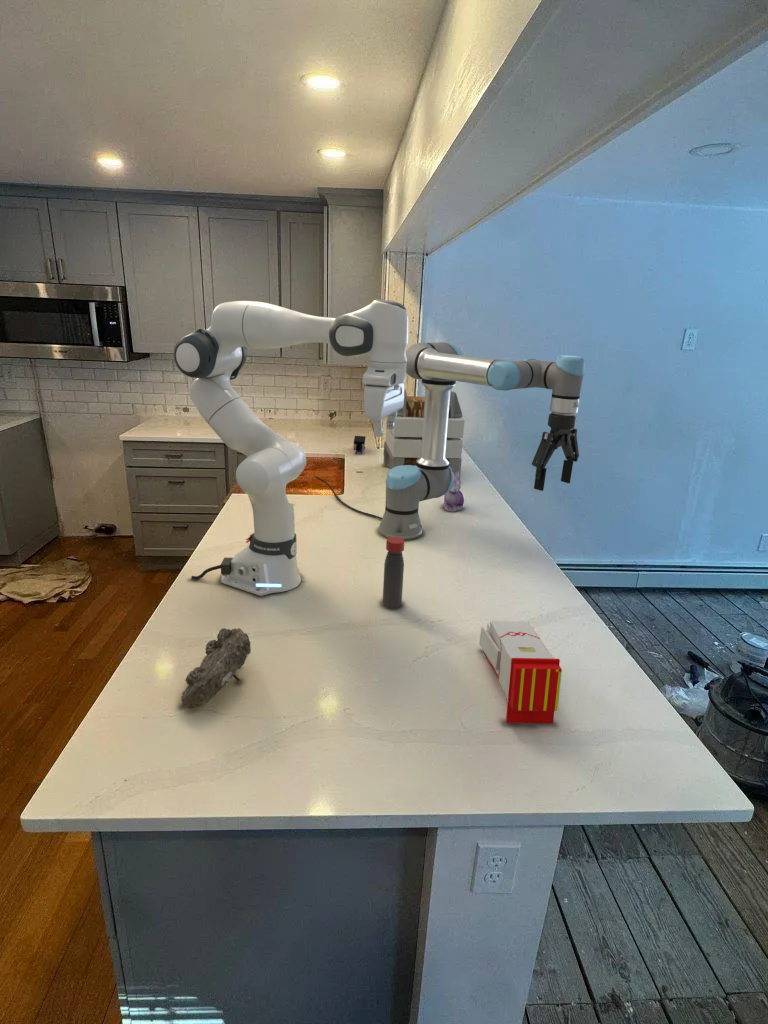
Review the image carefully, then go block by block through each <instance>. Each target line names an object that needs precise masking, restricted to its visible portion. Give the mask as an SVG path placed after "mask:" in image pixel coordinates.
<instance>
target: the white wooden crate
mask: <svg viewBox="0 0 768 1024" xmlns="http://www.w3.org/2000/svg"><path fill="white" fill-rule="evenodd" d="M407 394H408V393H407V390H406V389H404V405H403V408H401V409H400V410H398V411H397V417H396V420H395V428H394V429H392V430H390V429H387V428H386V427H385V438H384V442H383V466H384V467H388V468H389V470H390V469H392V468H394V467H396V466H401V465H404V466H405V465H413V466H416V461H417V459H418V458H420V457H421V449H422V434H423V419H424V404H425V396H415V395H414V396H413V395H412V396H411V395H407ZM387 420H388V416H386V417H385V423H386V422H387ZM464 429H465V419H464V418H463V411H462V408H461V405H460V402H459V398H458V395H457V392H455V391H453V390H451V392H450V404H449V416H448V428H447V441H446V453H445V458H446V459H447V461H448V462H449V466H450V467H451V469H452V473H454V475H455V473H456V472H457V471H458V472H459V477H458V481H459V483H461V472H462V461H463V460H462V453H463V442H464V441H463V440H462V439H463V438H464V431H465V430H464Z"/></svg>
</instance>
